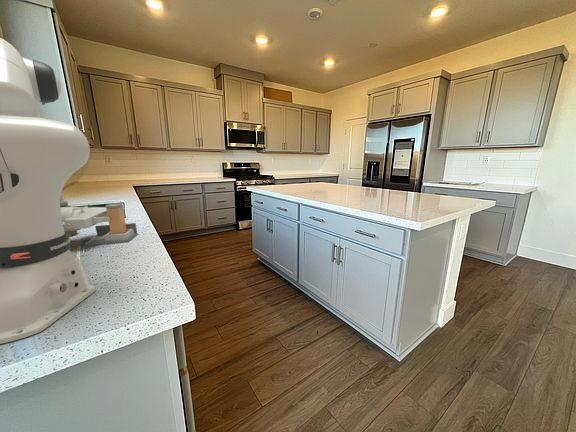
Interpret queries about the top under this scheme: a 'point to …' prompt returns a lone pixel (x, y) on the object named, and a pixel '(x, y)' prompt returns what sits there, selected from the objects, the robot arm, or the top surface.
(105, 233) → the housing
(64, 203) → the squeeze bottle
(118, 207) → the grey-capped orange post
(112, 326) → the top surface
